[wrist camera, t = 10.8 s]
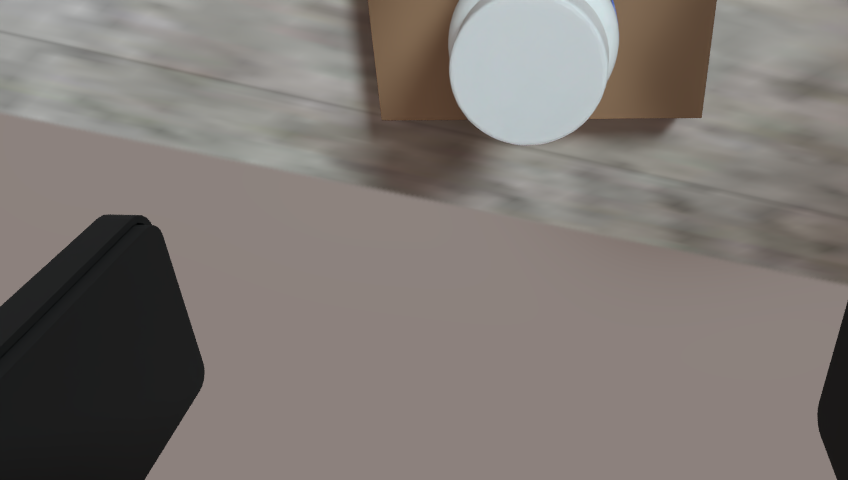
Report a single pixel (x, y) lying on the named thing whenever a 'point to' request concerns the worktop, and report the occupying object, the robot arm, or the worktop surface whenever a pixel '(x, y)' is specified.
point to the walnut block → (626, 87)
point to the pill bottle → (531, 65)
